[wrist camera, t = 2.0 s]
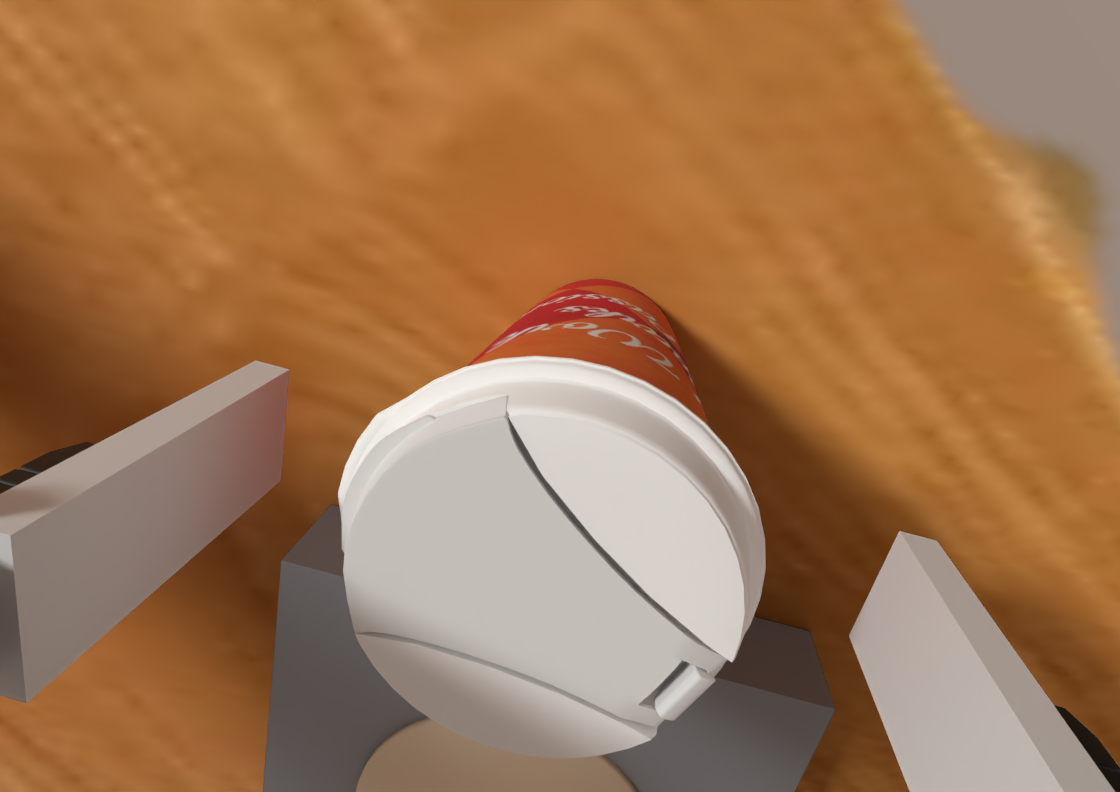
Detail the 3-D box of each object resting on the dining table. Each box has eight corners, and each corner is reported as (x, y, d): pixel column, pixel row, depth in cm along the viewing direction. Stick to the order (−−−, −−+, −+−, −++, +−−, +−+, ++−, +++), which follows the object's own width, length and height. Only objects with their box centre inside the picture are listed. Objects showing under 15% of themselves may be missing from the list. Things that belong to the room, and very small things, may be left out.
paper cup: (753, 331, 23) (889, 574, 10) (622, 490, 26) (594, 843, 13) (564, 197, 22) (444, 271, 9) (450, 375, 25) (232, 627, 12)
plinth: (295, 830, 35) (248, 921, 31) (330, 504, 28) (275, 566, 23) (670, 937, 34) (673, 1044, 30) (809, 631, 27) (838, 718, 23)
